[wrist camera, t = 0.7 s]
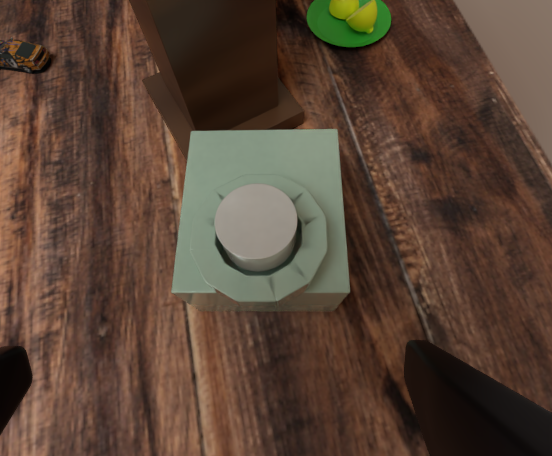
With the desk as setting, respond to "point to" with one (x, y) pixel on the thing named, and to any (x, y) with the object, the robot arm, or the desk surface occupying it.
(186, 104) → the pedestal
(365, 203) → the desk surface
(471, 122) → the desk surface
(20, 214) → the desk surface
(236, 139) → the green button box
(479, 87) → the desk surface
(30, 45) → the toy car
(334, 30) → the green plate with lemons
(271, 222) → the grey push button
